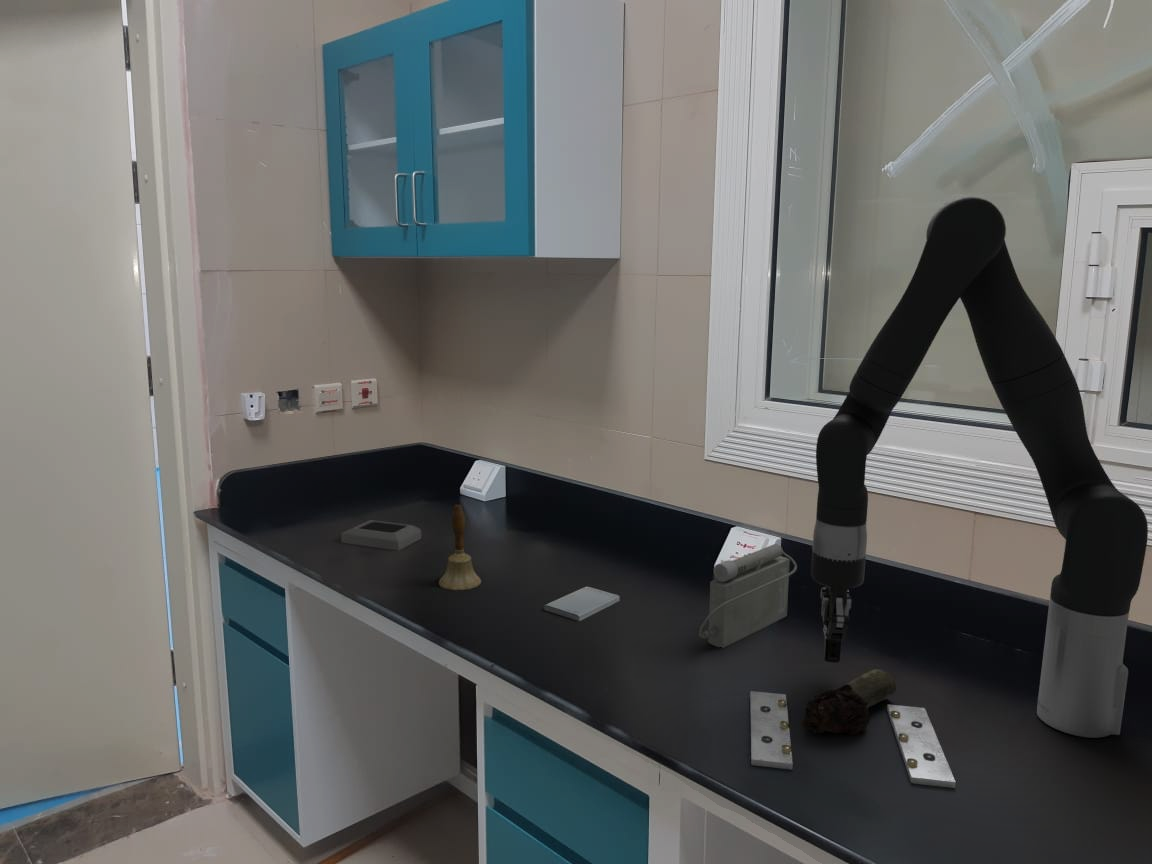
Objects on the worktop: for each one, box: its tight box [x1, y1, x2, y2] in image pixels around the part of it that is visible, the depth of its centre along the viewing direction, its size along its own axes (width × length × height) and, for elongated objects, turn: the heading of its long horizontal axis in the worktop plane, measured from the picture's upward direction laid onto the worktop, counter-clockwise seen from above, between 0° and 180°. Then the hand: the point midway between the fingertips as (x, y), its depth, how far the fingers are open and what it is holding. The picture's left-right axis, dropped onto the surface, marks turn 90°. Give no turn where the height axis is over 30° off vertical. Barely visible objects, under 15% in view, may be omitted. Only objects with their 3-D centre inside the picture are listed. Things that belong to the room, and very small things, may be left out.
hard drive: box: [543, 586, 621, 622], centre depth 157 cm, size 2×8×12 cm
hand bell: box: [438, 504, 482, 591], centre depth 167 cm, size 8×8×16 cm
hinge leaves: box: [749, 690, 956, 789], centre depth 113 cm, size 24×18×1 cm
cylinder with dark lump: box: [801, 668, 897, 736], centre depth 118 cm, size 18×7×6 cm, turn 131°
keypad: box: [340, 519, 422, 551], centre depth 194 cm, size 10×4×15 cm
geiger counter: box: [698, 543, 798, 649], centre depth 144 cm, size 14×6×25 cm
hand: (831, 659), depth 128 cm, fingers closed
